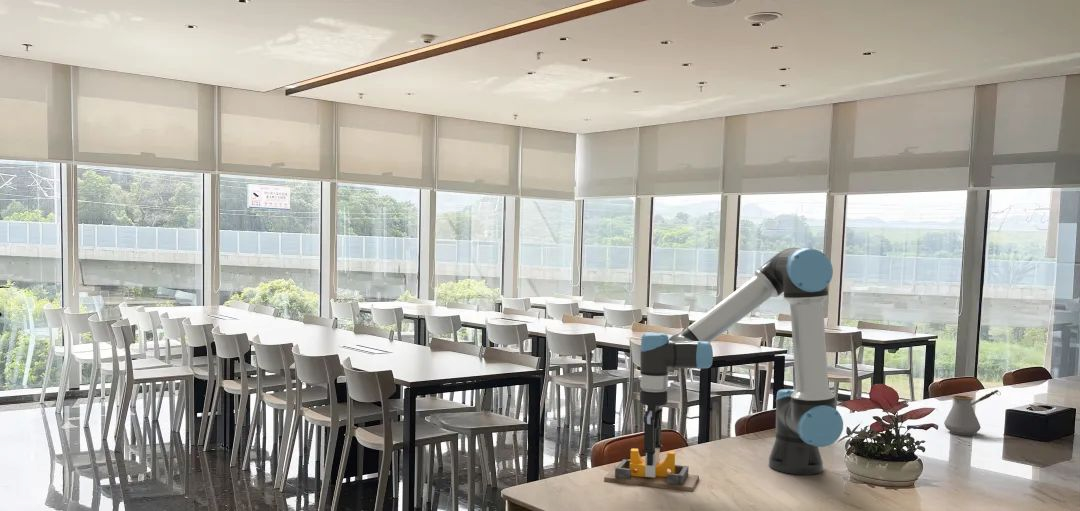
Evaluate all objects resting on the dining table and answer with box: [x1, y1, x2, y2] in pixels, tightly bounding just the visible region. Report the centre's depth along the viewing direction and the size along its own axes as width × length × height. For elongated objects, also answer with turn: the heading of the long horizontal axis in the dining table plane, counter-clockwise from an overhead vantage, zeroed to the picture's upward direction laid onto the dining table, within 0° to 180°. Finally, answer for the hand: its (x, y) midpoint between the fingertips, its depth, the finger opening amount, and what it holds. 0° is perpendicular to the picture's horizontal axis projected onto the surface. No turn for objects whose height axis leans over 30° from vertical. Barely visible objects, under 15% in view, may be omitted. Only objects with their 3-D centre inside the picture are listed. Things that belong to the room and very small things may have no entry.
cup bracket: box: [603, 458, 700, 492], centre depth 218 cm, size 24×12×4 cm, turn 71°
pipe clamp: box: [629, 447, 676, 478], centre depth 218 cm, size 12×4×6 cm, turn 77°
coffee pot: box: [943, 389, 1002, 436], centre depth 283 cm, size 21×12×15 cm, turn 104°
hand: (652, 473), depth 218 cm, fingers open, 5 cm apart
